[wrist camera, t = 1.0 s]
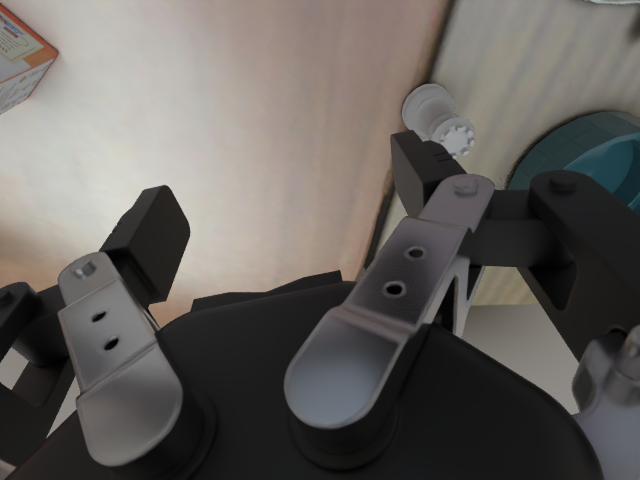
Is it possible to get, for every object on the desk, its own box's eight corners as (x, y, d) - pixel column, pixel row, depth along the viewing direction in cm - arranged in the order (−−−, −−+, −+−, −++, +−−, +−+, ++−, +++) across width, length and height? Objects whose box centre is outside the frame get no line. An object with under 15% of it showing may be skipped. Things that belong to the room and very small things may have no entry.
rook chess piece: (457, 112, 33) (496, 149, 26) (413, 140, 34) (441, 181, 28) (437, 70, 30) (475, 100, 24) (391, 102, 32) (416, 138, 25)
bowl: (541, 103, 33) (579, 126, 28) (676, 113, 34) (731, 136, 30) (483, 226, 42) (505, 257, 37) (593, 230, 43) (626, 260, 39)
